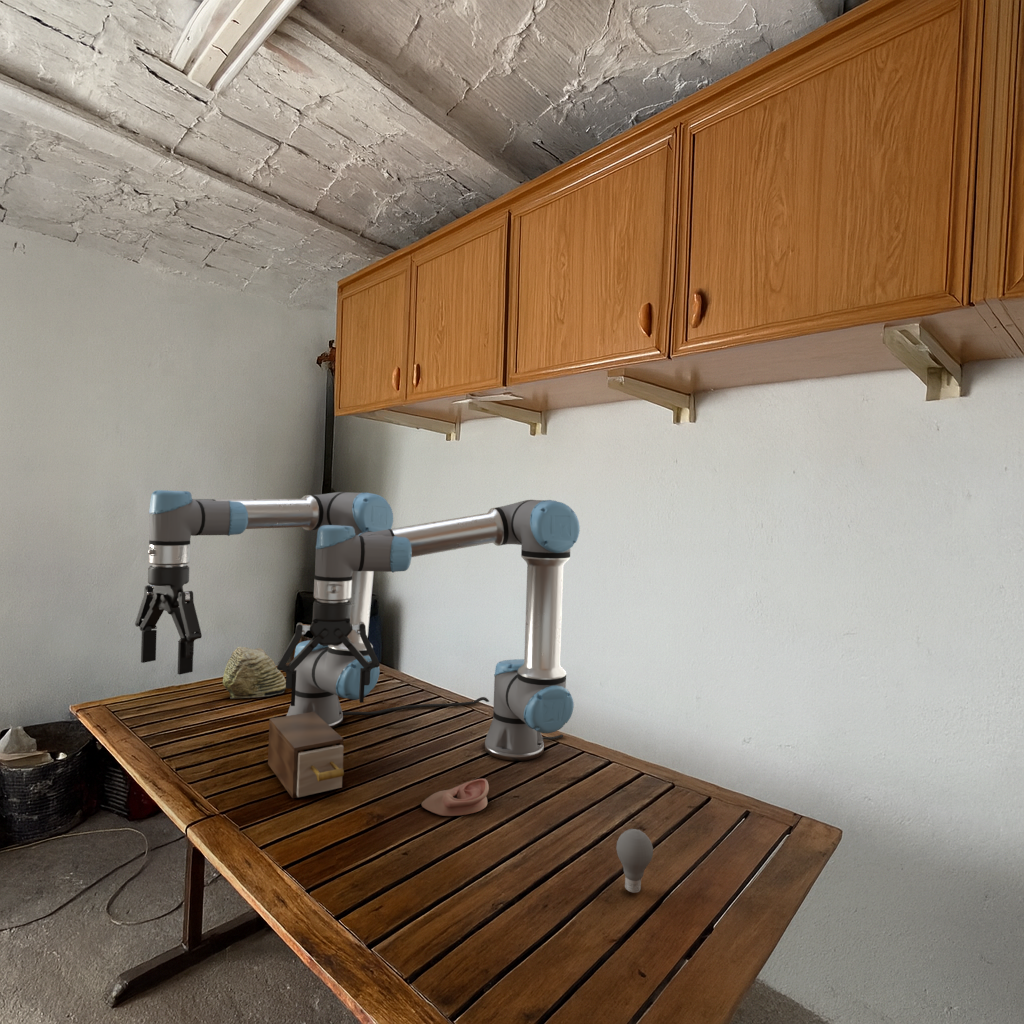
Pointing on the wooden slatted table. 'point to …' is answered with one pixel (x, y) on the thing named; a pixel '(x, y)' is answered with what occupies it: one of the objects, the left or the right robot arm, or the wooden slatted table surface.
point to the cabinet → (296, 744)
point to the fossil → (252, 674)
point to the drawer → (319, 769)
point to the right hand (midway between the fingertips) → (327, 702)
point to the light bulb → (634, 857)
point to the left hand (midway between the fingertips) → (166, 667)
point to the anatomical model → (459, 799)
